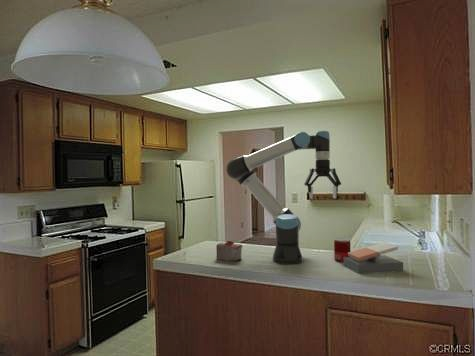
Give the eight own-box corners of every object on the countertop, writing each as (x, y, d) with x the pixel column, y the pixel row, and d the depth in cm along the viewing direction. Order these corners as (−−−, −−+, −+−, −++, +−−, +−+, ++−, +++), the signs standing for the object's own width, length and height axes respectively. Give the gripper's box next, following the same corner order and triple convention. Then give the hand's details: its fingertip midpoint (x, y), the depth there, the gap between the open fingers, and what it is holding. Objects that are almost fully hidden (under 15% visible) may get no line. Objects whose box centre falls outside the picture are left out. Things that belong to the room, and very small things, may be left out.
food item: (244, 259, 174) (243, 240, 174) (238, 262, 166) (238, 243, 166) (220, 257, 179) (220, 239, 179) (214, 260, 171) (214, 241, 171)
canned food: (351, 262, 164) (351, 241, 164) (334, 262, 166) (334, 240, 166) (349, 259, 171) (349, 238, 171) (333, 258, 173) (333, 237, 173)
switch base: (358, 273, 145) (358, 260, 145) (343, 265, 159) (343, 253, 159) (403, 271, 149) (403, 257, 149) (384, 263, 162) (384, 251, 162)
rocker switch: (359, 262, 147) (358, 257, 147) (348, 257, 157) (347, 252, 157) (398, 251, 150) (397, 246, 150) (385, 246, 160) (384, 242, 160)
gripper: (303, 159, 172) (303, 199, 172) (347, 159, 176) (347, 198, 176) (298, 159, 179) (298, 198, 179) (340, 160, 183) (341, 197, 183)
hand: (322, 198), depth 178 cm, fingers open, 13 cm apart
